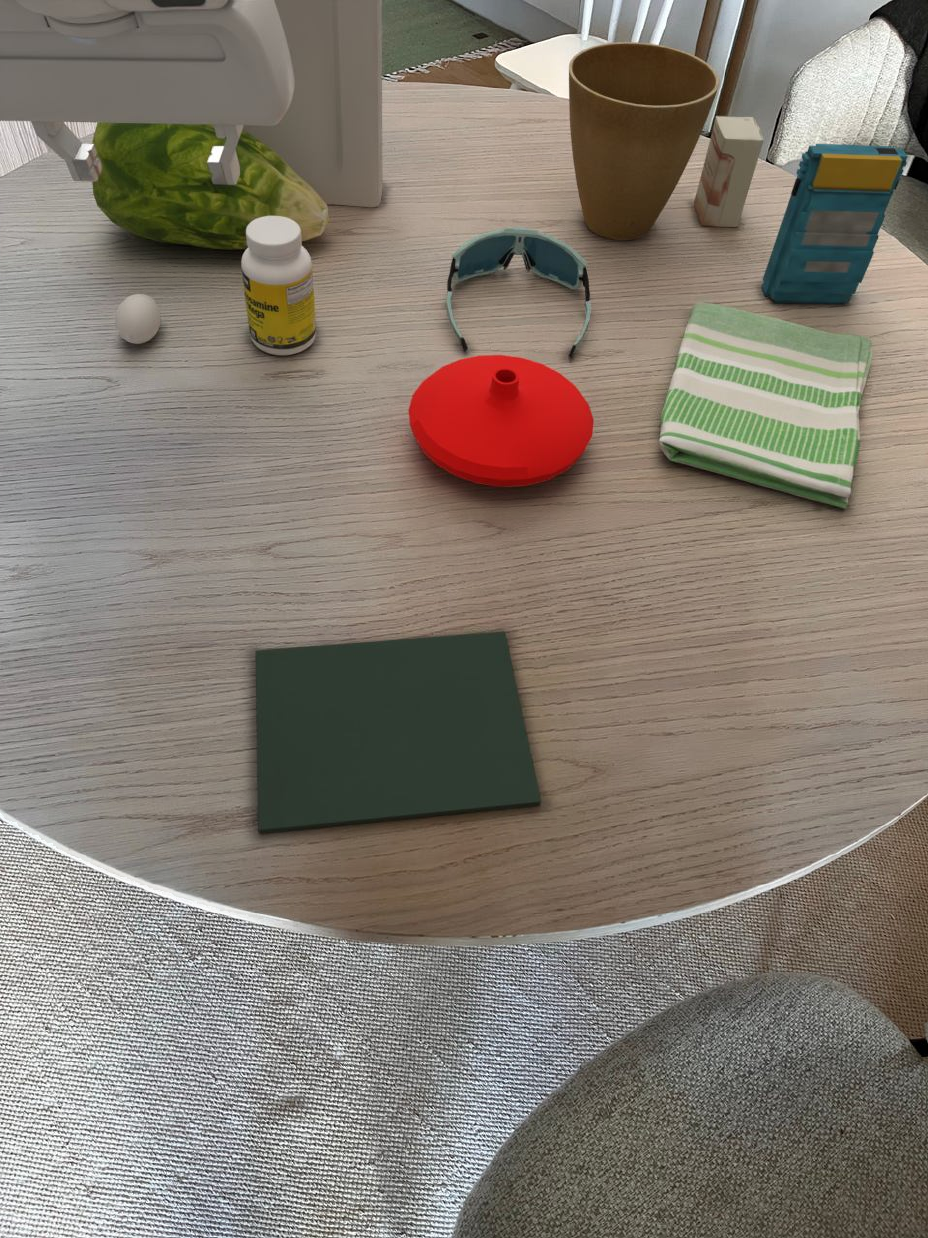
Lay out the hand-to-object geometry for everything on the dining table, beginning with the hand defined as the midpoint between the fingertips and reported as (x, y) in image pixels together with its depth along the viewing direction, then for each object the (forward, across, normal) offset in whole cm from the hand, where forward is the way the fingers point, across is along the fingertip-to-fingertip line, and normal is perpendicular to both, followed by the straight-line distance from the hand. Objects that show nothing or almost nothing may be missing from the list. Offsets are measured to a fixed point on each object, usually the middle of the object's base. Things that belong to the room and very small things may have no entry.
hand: (157, 177), depth 65 cm
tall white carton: (+29, -4, +44) cm, 53 cm away
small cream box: (+33, +44, +43) cm, 70 cm away
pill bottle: (+25, +1, +13) cm, 28 cm away
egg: (+24, -12, +11) cm, 29 cm away
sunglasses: (+28, +23, +21) cm, 42 cm away
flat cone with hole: (+26, +22, +1) cm, 34 cm away
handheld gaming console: (+32, +52, +29) cm, 68 cm away
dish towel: (+29, +46, +10) cm, 55 cm away
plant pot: (+31, +32, +40) cm, 60 cm away
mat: (+22, +17, -28) cm, 40 cm away
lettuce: (+26, -9, +29) cm, 40 cm away
